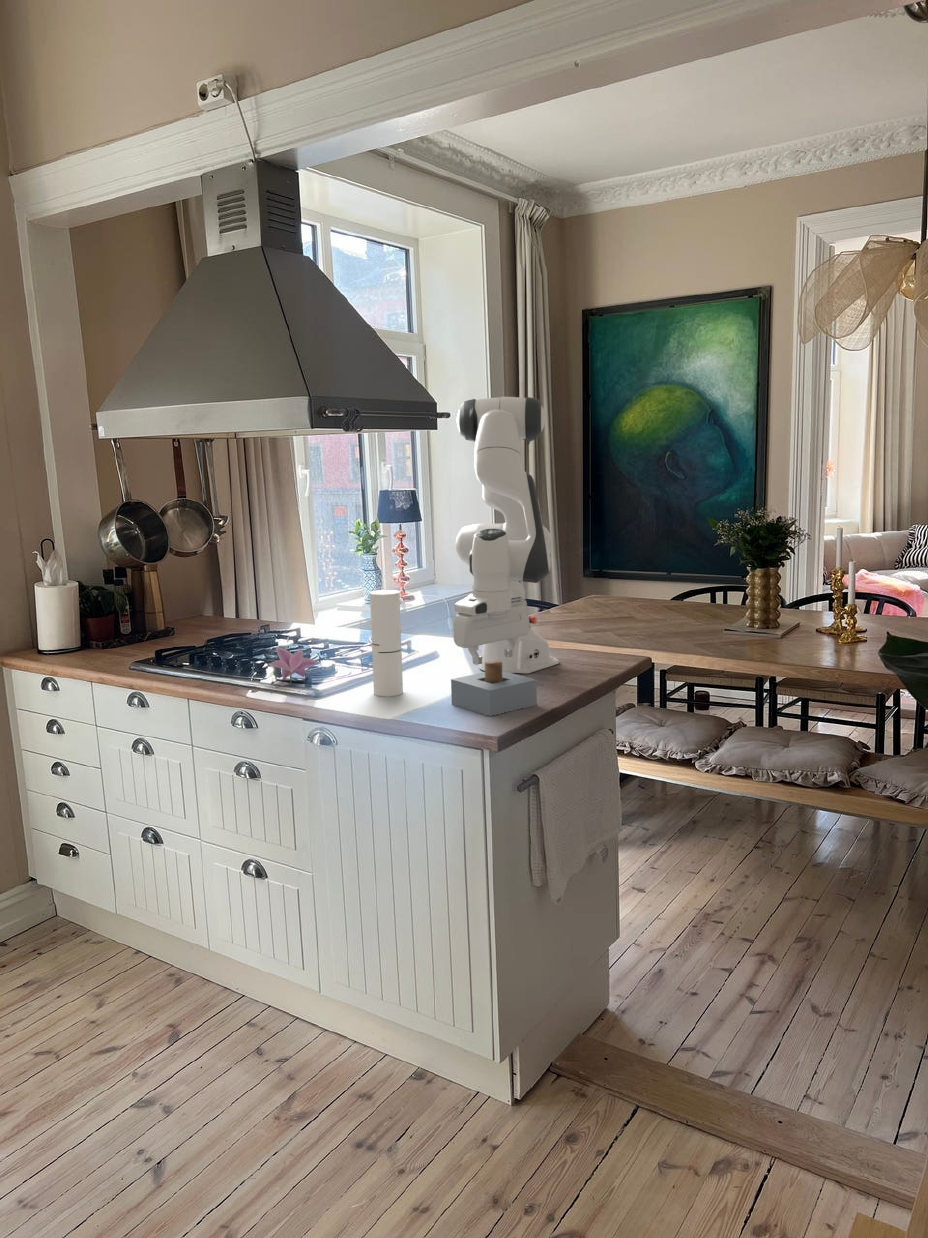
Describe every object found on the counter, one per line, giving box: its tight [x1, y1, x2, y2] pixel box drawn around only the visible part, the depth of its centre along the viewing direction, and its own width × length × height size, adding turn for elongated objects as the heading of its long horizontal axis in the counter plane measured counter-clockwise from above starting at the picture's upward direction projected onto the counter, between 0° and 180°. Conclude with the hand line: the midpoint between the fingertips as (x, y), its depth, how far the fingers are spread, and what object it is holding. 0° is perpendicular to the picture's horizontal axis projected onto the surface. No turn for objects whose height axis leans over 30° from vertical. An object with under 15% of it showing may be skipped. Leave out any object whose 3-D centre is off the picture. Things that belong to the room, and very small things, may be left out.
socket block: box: [450, 671, 538, 717], centre depth 214 cm, size 14×14×6 cm
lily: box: [268, 646, 321, 686], centre depth 240 cm, size 12×12×10 cm
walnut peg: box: [484, 661, 502, 684], centre depth 214 cm, size 4×4×10 cm
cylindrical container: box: [369, 589, 404, 697], centre depth 226 cm, size 7×7×25 cm
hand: (493, 660), depth 214 cm, fingers open, 8 cm apart
